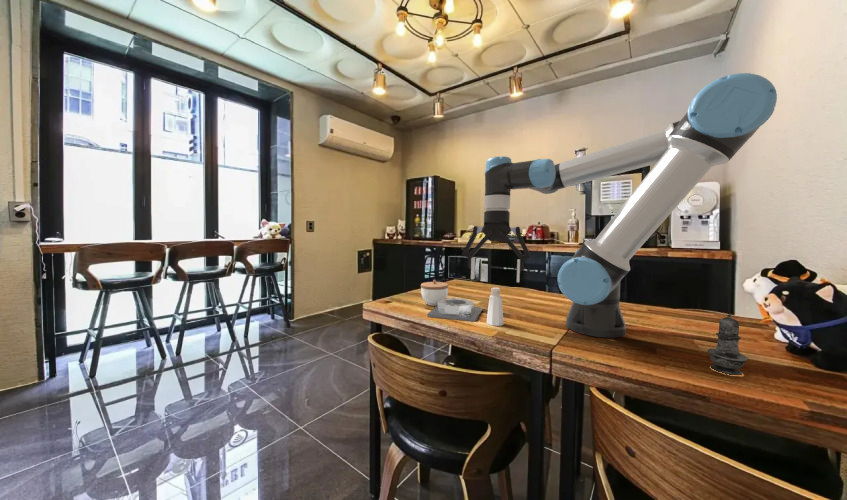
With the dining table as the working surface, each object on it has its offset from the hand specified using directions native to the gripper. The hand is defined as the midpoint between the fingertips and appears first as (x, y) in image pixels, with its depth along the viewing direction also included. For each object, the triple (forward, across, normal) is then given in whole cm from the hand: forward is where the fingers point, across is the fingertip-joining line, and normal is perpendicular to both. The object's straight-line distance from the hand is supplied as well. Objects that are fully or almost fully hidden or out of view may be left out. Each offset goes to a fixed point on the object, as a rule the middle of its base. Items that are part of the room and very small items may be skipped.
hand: (494, 280), depth 93 cm
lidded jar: (+14, +25, -18) cm, 33 cm away
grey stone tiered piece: (+13, -48, +17) cm, 53 cm away
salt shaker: (+14, 0, 0) cm, 14 cm away
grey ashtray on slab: (+14, +14, -7) cm, 20 cm away
